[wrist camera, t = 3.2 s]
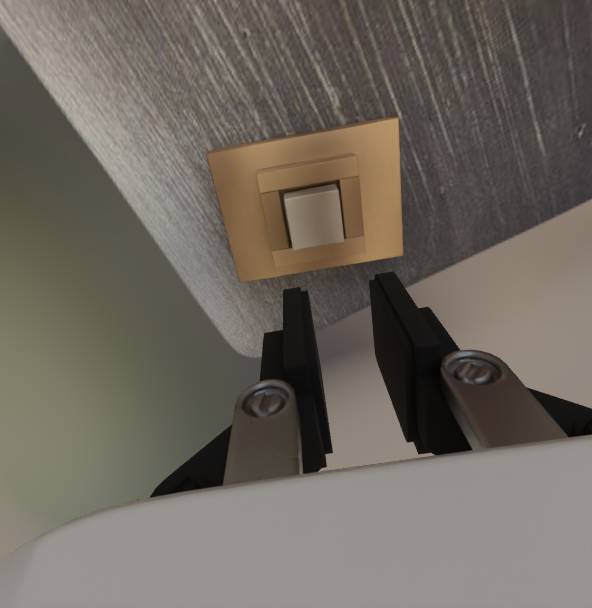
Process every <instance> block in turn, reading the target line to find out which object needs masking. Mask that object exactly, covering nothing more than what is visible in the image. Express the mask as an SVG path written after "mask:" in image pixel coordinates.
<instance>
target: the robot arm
mask: <svg viewBox="0 0 592 608" xmlns="http://www.w3.org/2000/svg"><path fill="white" fill-rule="evenodd" d="M369 287H370V299H371V311H372V323H373V335H374V347H375V355H376V359H377V363H378V365H379V368H380V371H381V374H382V376H383V379H384V382H385V385H386V387H387V390H388V393H389V395H390V398H391V401H392V404H393V407H394V409H395V412H396V415H397V418H398V420H399V423H400V426H401V428H402V431H403V434H404V436H405V439H406V441H407V442H414V444H415V446H416V449H417V452H418V454H425V453H432V454H435V455H436V456H428V457H422V458H414V459H407V460H399V461H393V462H386V463H378V464H372V465H364V466H356V467H349V468H342V469H335V470H329V471H322V472H318V471H319V470H320V469H321V468H324V467H327V465H326V457H325V454H329V453H333V451H332V443H331V436H330V430H329V423H328V416H327V408H326V402H325V395H324V388H323V380H322V373H321V366H320V360H319V355H318V349H317V343H316V337H315V331H314V325H313V319H312V313H311V307H310V302H309V296H308V290H307V291H301V288H300V287H297V288H291V289H285V290H283V330H280V331H273V332H267V333H264V338H263V350H262V362H261V374H260V382H257V383H255V384H253V385H251V386H249V387H248V388H247V389H245V390H244V391H243V392H242V393H241V394H240V396H239V397H238V398H237V401H236V404H235V410H234V416H233V423H232V425H231V426H229V427H228V428H227V429H226V430H225V431H223V432H222V433H221V434H220V435H218V436H217V437H216V438H215V439H214V440H212V441H211V442H210V443H209V444H207V445H206V446H205V447H204V448H202V449H201V450H200V451H199V452H198V453H196V454H195V455H194V456H193V457H191V458H190V459H189V460H188V461H187V462H185V463H184V464H183V465H182V466H180V467H179V468H178V469H177V470H176V471H174V472H173V473H172V474H171V475H169V476H168V477H167V478H166V479H165V480H164V481H163V482H162V483H161V484H160V485H159V486H157V488H156V489H155V490H154V492H153V493H152V495H151V496H150V498H147V499H141V500H139V499H138V500H136V501H130V502H126V503H123V504H119V505H115V506H111V507H107V508H104V509H100V510H97V511H94V512H92V513H89V514H86V515H83V516H80V517H78V518H75V519H72V520H70V521H68V522H66V523H64V524H62V525H59V526H57V527H55V528H53V529H51V530H49V531H47V532H45V533H43V534H41V535H39V536H37V537H36V538H34V539H32V540H30V541H29V542H27V543H25V544H24V545H22V546H21V547H19V548H18V549H16V550H15V551H13V552H12V553H10V554H9V555H8V556H7V557H5V558H4V559H3V560H2V561H1V562H0V608H592V409H591V408H588V407H585V406H582V405H579V404H575V403H573V402H570V401H567V400H564V399H560V398H557V397H554V396H551V395H548V394H545V393H542V392H539V391H536V390H533V389H530V388H526V387H525V386H524V384H523V383H522V382H521V381H520V380H519V378H518V377H517V376H516V375H515V374H514V373H513V371H512V370H511V369H510V368H509V367H508V365H507V364H506V363H505V362H503V361H502V360H501V359H500V358H498V357H496V356H494V355H492V354H490V353H487V352H483V351H477V350H460V349H459V348H458V346H457V345H456V343H455V342H454V341H453V339H452V338H451V337H450V335H449V334H448V332H447V331H446V330H445V328H444V327H443V326H442V324H441V323H440V321H439V320H438V318H437V317H436V316H435V314H434V313H433V312H432V310H431V309H430V308H429V307H425V308H418V307H417V306H416V305H415V303H414V301H413V300H412V298H411V297H410V295H409V294H408V292H407V291H406V289H405V288H404V286H403V285H402V283H401V282H400V280H399V279H398V277H397V276H396V274H395V273H394V272H388V273H382V274H376V275H375V279H374V280H370V281H369Z"/></svg>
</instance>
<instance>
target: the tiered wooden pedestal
mask: <svg viewBox="0 0 592 608" xmlns="http://www.w3.org/2000/svg"><path fill="white" fill-rule="evenodd" d="M206 157H207V161H208V164H209V168H210V172H211V176H212V180H213V183H214V187H215V191H216V195H217V198H218V202H219V206H220V210H221V214H222V217H223V221H224V225H225V229H226V233H227V236H228V240H229V244H230V248H231V252H232V255H233V259H234V263H235V267H236V270H237V274H238V278H239V282H240V283H241V282H247V281H253V280H259V279H265V278H271V277H277V276H283V275H289V274H295V273H301V272H307V271H313V270H319V269H325V268H331V267H337V266H343V265H349V264H355V263H361V262H367V261H373V260H379V259H385V258H391V257H397V256H403V235H402V205H401V176H400V146H399V119H398V118H396V117H385V118H379V119H374V120H369V121H363V122H358V123H352V124H347V125H342V126H336V127H331V128H326V129H320V130H315V131H310V132H304V133H299V134H293V135H288V136H283V137H277V138H272V139H267V140H261V141H256V142H251V143H245V144H240V145H234V146H229V147H224V148H218V149H213V150H211V151H209V152H208V153H206ZM332 184H335V185H336V187H337V189H338V190H339V197H340V206H341V215H342V224H343V233H344V242H340V243H334V244H328V245H322V246H316V247H310V248H305V249H299V250H293V247H292V242H291V236H290V231H289V225H288V220H287V214H286V209H285V203H284V193H287V192H293V191H298V190H304V189H309V188H315V187H321V186H326V185H332Z"/></svg>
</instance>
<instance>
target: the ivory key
mask: <svg viewBox="0 0 592 608" xmlns="http://www.w3.org/2000/svg"><path fill="white" fill-rule="evenodd" d="M284 203H285V209H286V214H287V220H288V225H289V231H290V236H291V242H292V247H293V250H299V249H305V248H310V247H316V246H322V245H328V244H334V243H340V242H344V233H343V224H342V215H341V206H340V197H339V190H338V189H337V187H336V185H335V184H332V185H326V186H321V187H315V188H309V189H304V190H298V191H293V192H287V193H284Z"/></svg>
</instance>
